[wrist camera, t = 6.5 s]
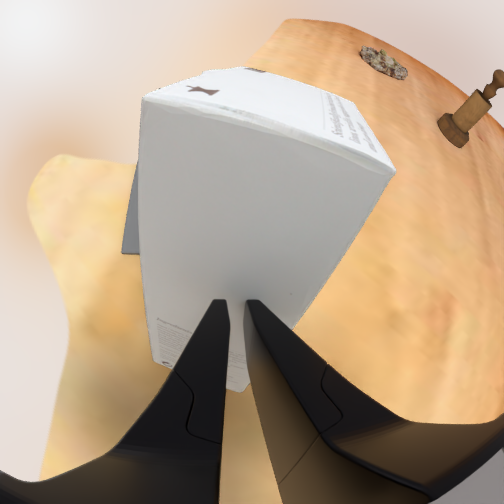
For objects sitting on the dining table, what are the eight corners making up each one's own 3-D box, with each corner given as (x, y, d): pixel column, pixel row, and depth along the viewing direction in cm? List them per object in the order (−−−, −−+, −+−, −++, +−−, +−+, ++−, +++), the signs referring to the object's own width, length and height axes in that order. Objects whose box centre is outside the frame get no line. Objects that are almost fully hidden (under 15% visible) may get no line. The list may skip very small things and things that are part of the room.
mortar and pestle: (450, 145, 35) (511, 81, 18) (431, 117, 37) (484, 53, 20) (467, 149, 37) (522, 93, 20) (449, 123, 38) (499, 66, 22)
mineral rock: (363, 54, 36) (366, 34, 37) (353, 67, 41) (358, 47, 42) (412, 83, 37) (411, 61, 38) (400, 94, 42) (401, 72, 42)
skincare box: (241, 395, 15) (421, 192, 4) (146, 361, 15) (127, 87, 4) (268, 290, 21) (365, 101, 10) (193, 263, 21) (239, 55, 10)
